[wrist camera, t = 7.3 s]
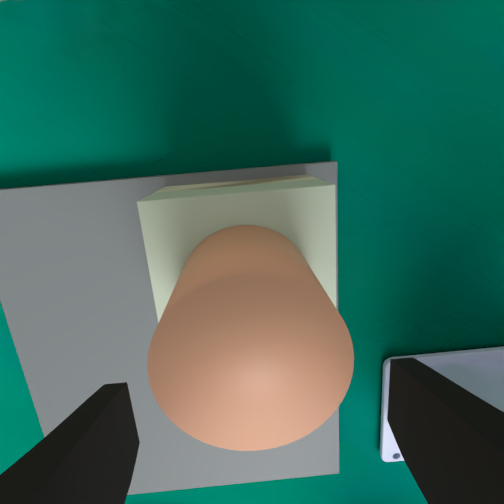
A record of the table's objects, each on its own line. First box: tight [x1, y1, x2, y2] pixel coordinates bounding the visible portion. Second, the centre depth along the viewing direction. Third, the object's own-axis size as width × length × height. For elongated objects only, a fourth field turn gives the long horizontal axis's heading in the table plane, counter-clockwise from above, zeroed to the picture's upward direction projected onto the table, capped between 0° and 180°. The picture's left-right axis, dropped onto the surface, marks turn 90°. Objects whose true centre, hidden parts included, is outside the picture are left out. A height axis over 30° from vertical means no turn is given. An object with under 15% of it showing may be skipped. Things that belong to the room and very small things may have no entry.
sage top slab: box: [137, 179, 336, 323], centre depth 14 cm, size 7×7×2 cm
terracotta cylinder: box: [147, 225, 354, 451], centre depth 11 cm, size 5×5×5 cm
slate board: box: [0, 161, 339, 495], centre depth 20 cm, size 18×20×1 cm
